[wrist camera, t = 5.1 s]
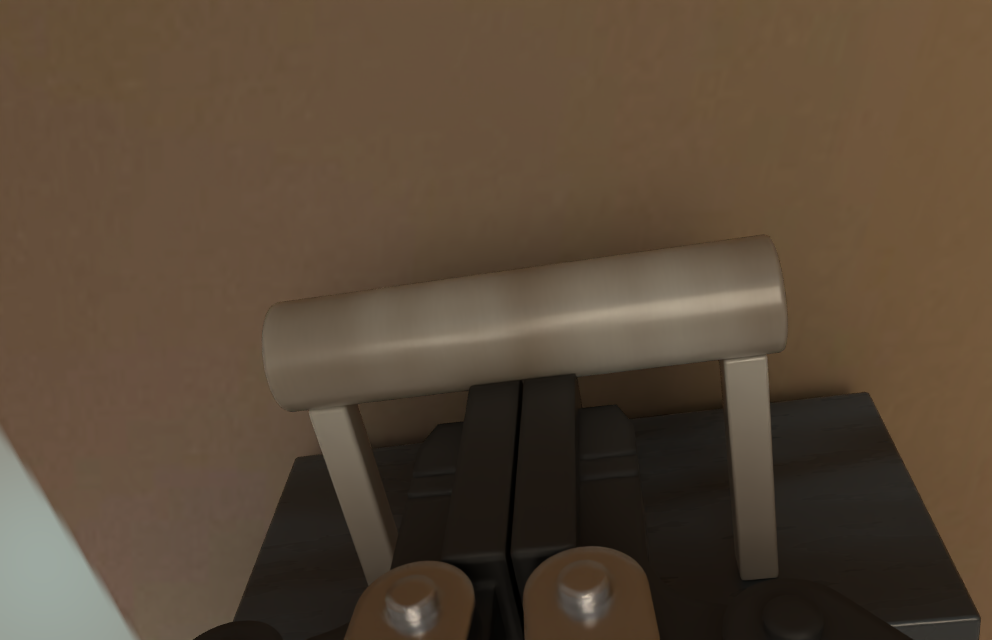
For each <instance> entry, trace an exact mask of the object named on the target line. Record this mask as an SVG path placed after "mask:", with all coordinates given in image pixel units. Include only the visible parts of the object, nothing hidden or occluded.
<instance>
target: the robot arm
mask: <svg viewBox="0 0 992 640" xmlns="http://www.w3.org/2000/svg"><path fill="white" fill-rule="evenodd" d="M193 640H283V638H282V637H281V635H280V633H279V632H278V631H277V630H276V629H275V628H274V627H272V626H270V625H268V624H266V623H263V622H259V621H252V620H244V621H235V622H230V623H226V624H223V625H220V626H217V627H215V628H213V629H210V630H208V631H206V632H205V633H203V634H201V635H199V636H198V637H196V638H195V639H193ZM305 640H913V639H912V638H910V637H909V636H907V635H905V634H904V633H902V632H901V631H899V630H898V629H896V628H894V627H893V626H891V625H890V624H888V623H886V622H885V621H883V620H882V619H880V618H879V617H877V616H875V615H874V614H872V613H871V612H869V611H868V610H866V609H864V608H863V607H861V606H860V605H858V604H856V603H855V602H853V601H852V600H850V599H849V598H847V597H845V596H844V595H842V594H841V593H839V592H837V591H835V590H834V589H832V588H830V587H828V586H825V585H822V584H820V583H817V582H813V581H809V580H803V579H795V578H780V579H772V580H767V581H763V582H760V583H757V584H755V585H752V586H750V587H748V588H747V589H745V590H743V591H742V592H740V593H739V594H738V595H737V596H736V597H735V598H734V599H733V600H732V601H731V603H730V604H729V605H725V604H719V603H714V602H708V601H704V600H699V599H695V598H692V597H690V596H687V595H684V594H682V593H680V592H678V591H676V590H674V589H673V588H671V587H670V586H668V585H667V584H666V583H664V582H663V581H662V580H661V579H660V578H659V577H658V576H657V574H656V573H655V572H654V570H653V569H652V567H651V561H650V550H649V541H648V532H647V523H646V513H645V505H644V498H643V490H642V483H641V475H640V468H639V461H638V453H637V446H636V438H635V431H634V425H633V423H632V422H631V421H630V420H629V419H628V418H627V416H626V415H625V414H624V413H623V412H622V411H621V409H620V408H619V407H618V406H617V405H607V406H598V407H589V408H582V404H581V398H580V392H579V386H578V381H577V377H576V374H567V375H559V376H550V377H541V378H533V379H525V380H524V384H523V383H522V381H521V380H517V381H509V382H500V383H491V384H483V385H474V386H471V387H470V389H469V394H468V400H467V406H466V412H465V418H464V422H456V423H447V424H438V425H437V426H436V427H435V429H434V430H433V431H432V432H431V433H430V435H429V436H428V437H427V438H426V440H425V441H424V442H423V443H422V444H421V446H420V447H419V448H418V452H417V456H416V461H415V465H414V469H413V478H411V482H410V487H409V491H408V499H406V504H405V508H404V512H403V517H402V521H401V525H400V530H399V534H398V538H397V542H396V547H395V551H394V555H393V560H392V564H391V568H390V571H388V572H386V573H385V574H383V575H382V576H380V577H379V578H377V579H376V580H375V581H374V582H372V583H371V584H370V585H369V586H368V587H367V589H366V590H365V591H364V592H363V594H362V595H361V596H360V598H359V600H358V602H357V604H356V607H355V609H354V612H353V615H352V618H351V621H350V622H348V623H346V624H344V625H342V626H340V627H338V628H335V629H333V630H330V631H328V632H325V633H322V634H319V635H316V636H313V637H311V638H308V639H305Z"/></svg>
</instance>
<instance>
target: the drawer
mask: <svg viewBox="0 0 992 640" xmlns="http://www.w3.org/2000/svg"><path fill="white" fill-rule="evenodd" d="M787 337H788V313H787V302H786V293H785V286H784V280H783V274H782V269H781V265H780V260H779V257H778V253H777V250H776V247H775V245H774V243H773V241H772V239H771V238H770V236H768V235H757V236H749V237H742V238H735V239H728V240H721V241H714V242H706V243H699V244H692V245H685V246H678V247H671V248H664V249H656V250H649V251H642V252H635V253H628V254H621V255H614V256H606V257H599V258H592V259H585V260H578V261H571V262H564V263H556V264H549V265H542V266H535V267H528V268H521V269H513V270H506V271H499V272H492V273H485V274H478V275H471V276H463V277H456V278H449V279H442V280H435V281H428V282H421V283H413V284H406V285H399V286H392V287H385V288H378V289H370V290H363V291H356V292H349V293H342V294H335V295H328V296H320V297H313V298H306V299H299V300H292V301H285V302H278V303H276V304H274V305H273V306H271V307H270V308H269V310H268V312H267V314H266V316H265V320H264V324H263V331H262V355H263V363H264V369H265V374H266V378H267V381H268V384H269V387H270V390H271V392H272V395H273V397H274V399H275V400H276V402H277V403H278V404H279V406H280V407H281V408H283V409H284V410H287V411H290V412H296V411H304V410H309V416H310V419H311V422H312V425H313V428H314V430H315V433H316V436H317V439H318V442H319V445H320V448H321V451H322V453H323V454H321V455H312V456H303V457H298V458H296V459H295V461H294V464H293V467H292V469H291V472H290V474H289V477H288V480H287V482H286V485H285V487H284V490H283V492H282V495H281V498H280V500H279V503H278V505H277V508H276V511H275V513H274V516H273V518H272V521H271V524H270V526H269V529H268V531H267V534H266V537H265V539H264V542H263V544H262V547H261V550H260V552H259V555H258V557H257V560H256V563H255V565H254V568H253V570H252V573H251V575H250V578H249V581H248V583H247V586H246V588H245V591H244V594H243V596H242V599H241V601H240V604H239V607H238V609H237V612H236V614H235V617H234V620H233V622H235V621H244V620H252V621H259V622H263V623H266V624H268V625H270V626H272V627H274V628H275V629H276V630H277V631H278V632H279V633H280V635H281V637H282V638H283V640H305V639H308V638H311V637H313V636H316V635H319V634H322V633H325V632H328V631H330V630H333V629H335V628H338V627H340V626H342V625H344V624H346V623H348V622H350V621H351V618H352V615H353V612H354V609H355V607H356V604H357V602H358V600H359V598H360V596H361V595H362V594H363V592H364V591H365V590H366V589H367V587H368V586H369V585H370V584H371V583H372V582H374V581H375V580H376V579H377V578H379V577H380V576H382V575H383V574H385V573H386V572H388V571H390V568H391V564H392V560H393V555H394V551H395V547H396V542H397V538H398V534H399V530H400V525H401V521H402V517H403V512H404V508H405V504H406V499H408V491H409V487H410V482H411V478H413V469H414V465H415V461H416V456H417V452H418V448H419V447H420V446H421V444H422V443H417V444H408V445H399V446H390V447H382V448H373V449H372V448H371V445H370V442H369V439H368V435H367V432H366V429H365V426H364V423H363V420H362V416H361V413H360V410H359V407H358V404H361V403H369V402H378V401H386V400H394V399H402V398H410V397H419V396H427V395H435V394H443V393H451V392H460V391H468V390H469V389H470V387H471V386H474V385H483V384H491V383H500V382H509V381H517V380H521V381H522V383H523V384H524V380H525V379H533V378H541V377H550V376H559V375H567V374H576V377H582V376H591V375H599V374H607V373H615V372H623V371H631V370H640V369H648V368H656V367H664V366H672V365H681V364H689V363H697V362H705V361H713V360H719V363H720V376H721V388H722V400H723V408H721V409H713V410H704V411H695V412H686V413H678V414H669V415H660V416H652V417H643V418H634V419H629V420H630V421H631V422H632V423H633V425H634V431H635V438H636V446H637V453H638V461H639V468H640V475H641V483H642V490H643V498H644V505H645V513H646V523H647V532H648V541H649V550H650V561H651V567H652V569H653V570H654V572H655V573H656V574H657V576H658V577H659V578H660V579H661V580H662V581H663V582H664V583H666V584H667V585H668V586H670V587H671V588H673V589H674V590H676V591H678V592H680V593H682V594H684V595H687V596H690V597H692V598H695V599H699V600H704V601H708V602H714V603H719V604H725V605H729V604H730V603H731V601H732V600H733V599H734V598H735V597H736V596H737V595H738V594H739V593H740V592H742V591H743V590H745V589H747V588H748V587H750V586H752V585H755V584H757V583H760V582H763V581H767V580H772V579H780V578H795V579H803V580H809V581H813V582H817V583H820V584H822V585H825V586H828V587H830V588H832V589H834V590H835V591H837V592H839V593H841V594H842V595H844V596H845V597H847V598H849V599H850V600H852V601H853V602H855V603H856V604H858V605H860V606H861V607H863V608H864V609H866V610H868V611H869V612H871V613H872V614H874V615H875V616H877V617H879V618H880V619H882V620H883V621H885V622H886V623H888V624H890V625H891V626H893V627H894V628H896V629H898V630H899V631H901V632H902V633H904V634H905V635H907V636H909V637H910V638H912V639H913V640H979V632H980V622H981V617H980V615H979V613H978V611H977V609H976V607H975V605H974V603H973V601H972V599H971V597H970V595H969V593H968V591H967V589H966V587H965V585H964V583H963V581H962V579H961V577H960V575H959V573H958V571H957V569H956V567H955V565H954V563H953V561H952V559H951V557H950V555H949V553H948V551H947V549H946V547H945V545H944V543H943V541H942V539H941V537H940V535H939V533H938V531H937V529H936V527H935V525H934V523H933V521H932V519H931V517H930V515H929V513H928V511H927V509H926V507H925V505H924V503H923V501H922V499H921V497H920V495H919V493H918V491H917V489H916V487H915V485H914V483H913V481H912V479H911V477H910V475H909V473H908V471H907V469H906V467H905V465H904V463H903V461H902V459H901V457H900V455H899V453H898V451H897V449H896V446H895V444H894V442H893V440H892V438H891V436H890V434H889V432H888V430H887V428H886V426H885V424H884V422H883V420H882V418H881V416H880V414H879V412H878V410H877V408H876V406H875V404H874V402H873V400H872V398H871V396H870V395H869V393H867V392H861V393H852V394H843V395H834V396H826V397H817V398H808V399H800V400H791V401H782V402H774V403H770V395H769V375H768V357H767V355H766V354H771V353H779V352H781V351H783V350H784V349H785V347H786V343H787Z"/></svg>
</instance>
